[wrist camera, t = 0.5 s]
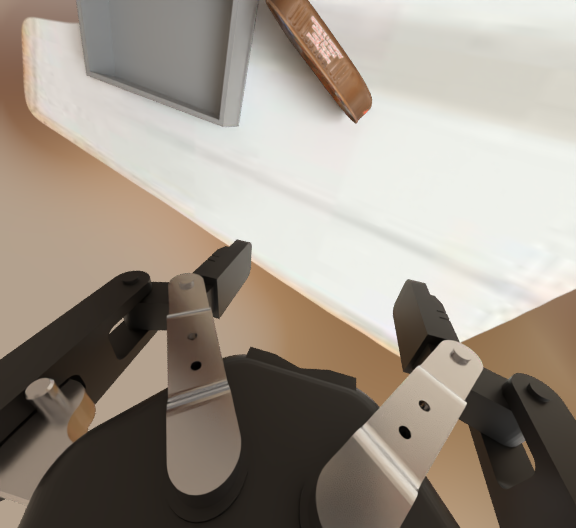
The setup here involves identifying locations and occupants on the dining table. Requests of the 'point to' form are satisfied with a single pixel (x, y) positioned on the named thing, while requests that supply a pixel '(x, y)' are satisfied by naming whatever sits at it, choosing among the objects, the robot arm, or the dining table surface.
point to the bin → (172, 51)
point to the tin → (323, 55)
